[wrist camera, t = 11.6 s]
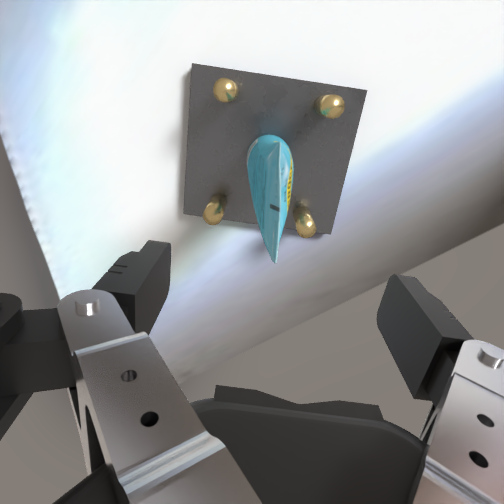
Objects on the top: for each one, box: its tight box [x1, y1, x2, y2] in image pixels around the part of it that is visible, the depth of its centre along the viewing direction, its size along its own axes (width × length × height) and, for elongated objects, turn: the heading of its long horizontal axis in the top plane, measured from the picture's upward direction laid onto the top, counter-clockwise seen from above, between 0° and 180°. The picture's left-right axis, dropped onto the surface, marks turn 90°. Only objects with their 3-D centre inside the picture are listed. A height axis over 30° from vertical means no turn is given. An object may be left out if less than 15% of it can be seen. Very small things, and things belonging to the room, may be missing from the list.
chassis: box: [184, 63, 367, 238], centre depth 36 cm, size 18×16×6 cm
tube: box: [247, 135, 294, 263], centre depth 29 cm, size 7×5×19 cm, turn 5°
